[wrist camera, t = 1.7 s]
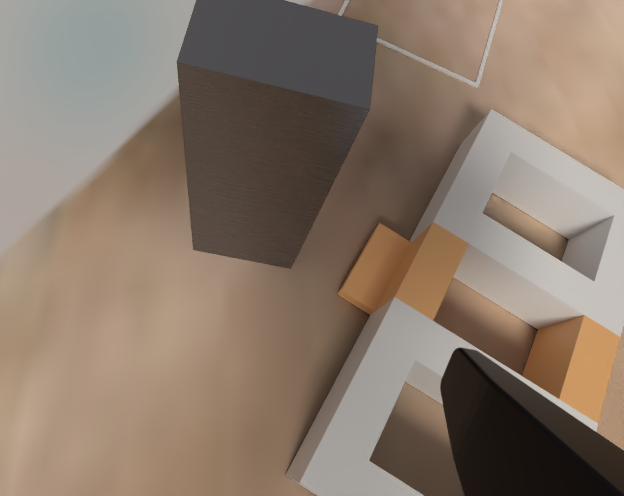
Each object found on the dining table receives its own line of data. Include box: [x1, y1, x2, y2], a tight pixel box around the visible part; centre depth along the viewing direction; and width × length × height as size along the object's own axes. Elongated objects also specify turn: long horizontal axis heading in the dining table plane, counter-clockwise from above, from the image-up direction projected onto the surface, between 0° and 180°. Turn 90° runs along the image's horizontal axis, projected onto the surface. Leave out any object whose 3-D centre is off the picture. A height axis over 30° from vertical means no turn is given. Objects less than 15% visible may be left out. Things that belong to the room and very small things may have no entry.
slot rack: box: [285, 109, 624, 496], centre depth 23 cm, size 22×12×4 cm, turn 150°
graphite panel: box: [177, 0, 378, 268], centre depth 18 cm, size 3×5×13 cm, turn 82°
